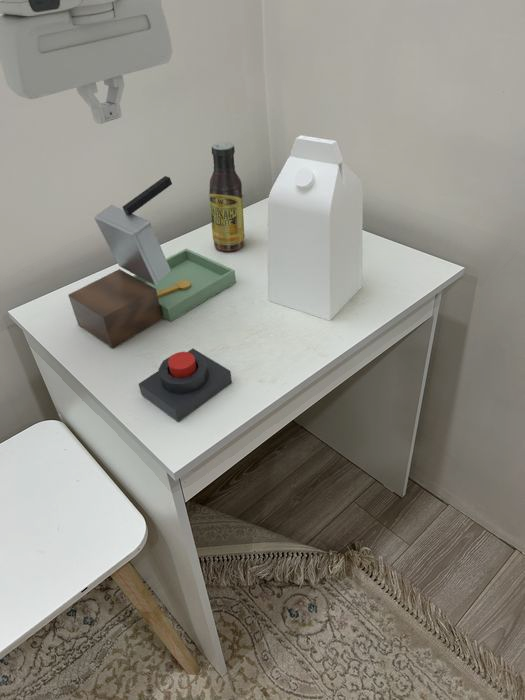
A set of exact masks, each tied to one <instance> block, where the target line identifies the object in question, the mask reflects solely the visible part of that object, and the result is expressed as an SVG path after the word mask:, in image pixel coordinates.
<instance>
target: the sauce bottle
mask: <svg viewBox="0 0 525 700" xmlns="http://www.w3.org/2000/svg"><path fill="white" fill-rule="evenodd" d="M235 149H236V148H235V144H234V143H233V142H229V141H218V142H215V143H213V144H212V145H211V155H212V160H213V172H212V174H211V177H210V179H209V193H208V196H209V197H208V198H209V209H210V210H209V211H210V219H211V233H212V241H213V244H214V248H215V249H217V250H219V251H220V252H235V251H238V250H240V249H241V248H243V246H244V243H245V221H244V200H243V199H244V198H243V197H244V196H243V189H242V187H243V185H242V184H243V183H242V180H241V178H240V177H239V174H237V172H236V165H235V152H236V151H235Z"/></svg>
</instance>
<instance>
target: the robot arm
mask: <svg viewBox="0 0 525 700" xmlns="http://www.w3.org/2000/svg"><path fill="white" fill-rule="evenodd" d="M0 14H1V15H0V65H1V70H2V73H3V75H4V78H5V82H6V85H7V86H8V88H9V89H10V90H11V91H12V92H13V93H15V95H17V96H18V97H21V98H24V99H28V100H36V99H39V98H43V97H47V96H50V95H54V94H57V93H61V92H66V91H69V90H73V89H76V91H77V94H78V95H79V96H80V97H81V99H82V100H83V101H84V102H85V103H86V105H88V107H90V110H91V114H92V118H93V121H94V122H95V123H97V124H105V123H109V122H111V121H114V120H117V119H121V118H122V117H123V113H122V109H121V104H120V103H121V99H122V96H123V92H124V90H125V89H124V88H125V82H124V77H123V76H124V75H128V74H132V73H135V72H140V71H143V70H147V69H150V68H155V67H158V66H162V65H165V64H169V62H170V61H171V58H172V55H173V45H172V39H171V36H170V31H169V26H168V23H167V19H166V15H165V12H164V9H163V7H162V1H161V0H0ZM102 81H103V85H104V86H108V88H107V94H106V100H105V101H104V102H100V100H99V99H98V98H97V96H96V95H95V94H97V93H98V92H99V90H98V86H97V83H99V82H102Z"/></svg>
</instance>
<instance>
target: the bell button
mask: <svg viewBox="0 0 525 700" xmlns="http://www.w3.org/2000/svg"><path fill="white" fill-rule="evenodd" d="M170 356H171V357H170ZM170 356H169V357H170V358H169V360H168V365H169V369H170V373H171V375H172V376H173V377H175V378H184V377H188V376H191V375H192V374H194V373H195V371H196V363H195V358H194V356H193V354H191V353H189V352H188V351H178V352H175V353H173V354H171V355H170Z"/></svg>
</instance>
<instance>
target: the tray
mask: <svg viewBox="0 0 525 700" xmlns="http://www.w3.org/2000/svg"><path fill="white" fill-rule="evenodd" d="M166 260H167V263H168V265H169V267H170V270H171V271H170V272H169V273H168V274H167V275H166V276H164V277H163V278H162V279H161V280H159V281H158V284H157V285H156V286H155V285H153V284H151V283H150V282H148V281H146V280H144V279H142V278H140V277H138V276H137V275H135V274H133V275H132V276H133V277H135V278H137V279H139V280H141V281H143V282H144V283H146V284H148V285H150V286H152V287H154V288H155V289H156V291H157V292H158V291H160V290H163V289H166V288H168V287H171V286H174V285H176V283H177V282H179V281H181V280H188V281H190V282H191V287H190V288H189V289H188V290H184V291H181V290H179V291H176V292H173V293H171V294H168V295H166V296H163V297H160V298H158V300H159V305H160V309H161V314H162V318H164V319H166V320H168V321H170V322H173V321H174V320H176V319H177V318H179V317H181V316H183V315H185V314H186V313H188V312H189V311H191V310H193V309H195V308H196V307H198V306H199V305H201V304H202V303H204V302H205V301H207V300H209V299H211V298H213V297H214V296H216V295H217V294H219V293H221V292H223V291H224V290H225V289H227V288H229V287H231V286H232V285H234V284H236V283H237V278H236V270H235V269H233V268H230V267H229V266H226V265H224V264H222V263H220V262H217V261H215V260H213V259H211V258H208V257H206V256H204V255H201V254H200V253H197V252H195V251H193V250H191V249H189V248H185V249H182V250H180V251H179V252H177V253H174V254H173V255H171V256H169V257H167V258H166Z"/></svg>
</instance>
